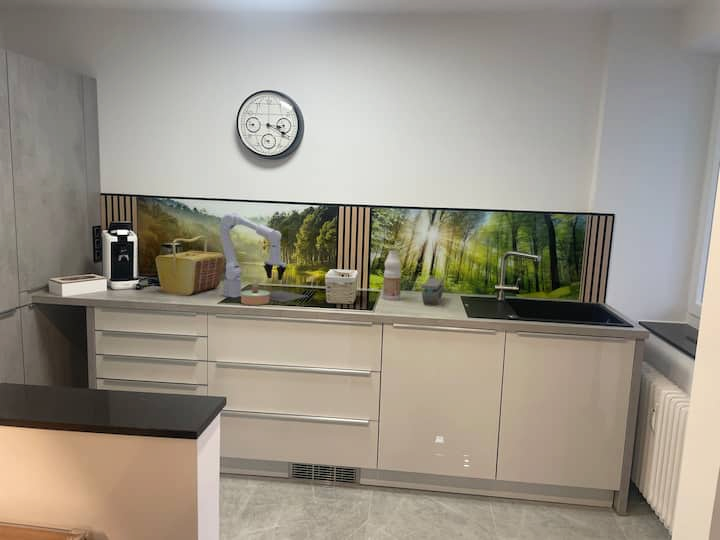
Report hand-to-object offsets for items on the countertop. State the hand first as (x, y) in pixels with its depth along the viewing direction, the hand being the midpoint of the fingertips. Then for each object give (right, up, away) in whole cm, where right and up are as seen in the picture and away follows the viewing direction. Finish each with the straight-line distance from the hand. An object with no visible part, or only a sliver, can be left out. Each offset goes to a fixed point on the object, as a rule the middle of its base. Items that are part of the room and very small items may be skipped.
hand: (274, 279), depth 306 cm
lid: (-8, -7, -11) cm, 16 cm away
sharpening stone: (+84, -13, +4) cm, 85 cm away
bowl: (-9, -12, -10) cm, 18 cm away
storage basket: (+35, -11, +3) cm, 37 cm away
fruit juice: (+63, -11, +10) cm, 64 cm away
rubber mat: (+2, -10, +5) cm, 11 cm away
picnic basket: (-49, -7, +16) cm, 52 cm away
